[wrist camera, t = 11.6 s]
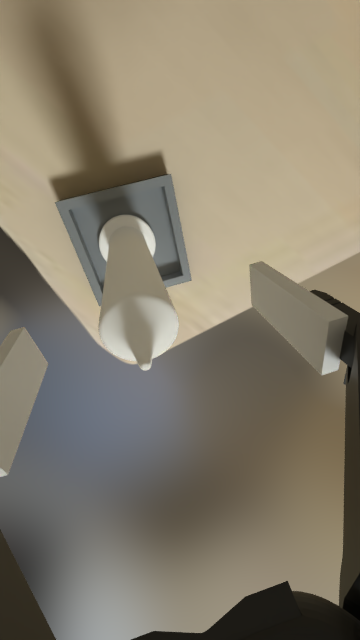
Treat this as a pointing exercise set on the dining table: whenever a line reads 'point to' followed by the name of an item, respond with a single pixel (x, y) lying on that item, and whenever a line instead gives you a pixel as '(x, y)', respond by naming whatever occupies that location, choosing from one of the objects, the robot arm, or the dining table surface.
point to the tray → (131, 199)
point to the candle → (134, 294)
